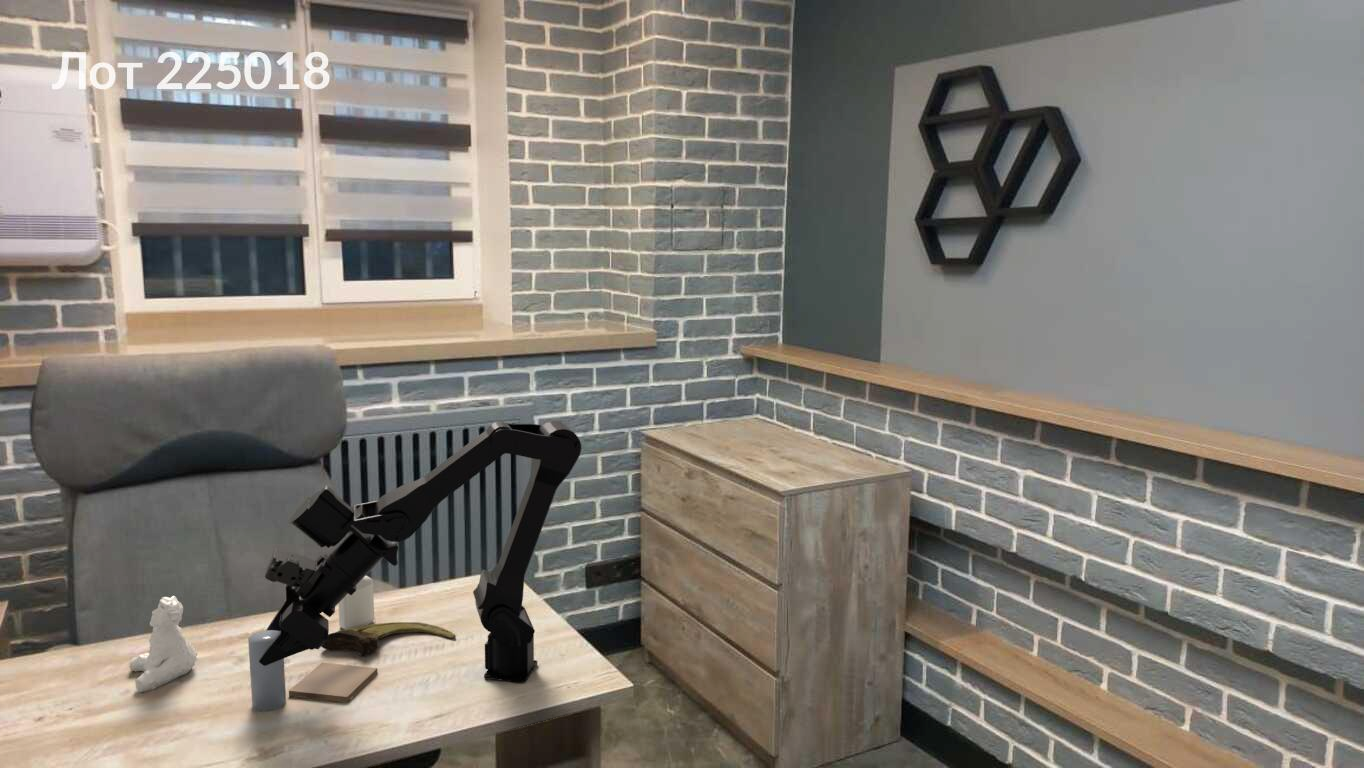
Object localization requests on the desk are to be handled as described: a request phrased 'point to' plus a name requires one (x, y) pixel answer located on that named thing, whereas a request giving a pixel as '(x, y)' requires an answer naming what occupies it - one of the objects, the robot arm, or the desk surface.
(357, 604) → the eye dropper bottle
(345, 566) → the robot arm
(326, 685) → the coaster
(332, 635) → the claw
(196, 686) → the desk surface
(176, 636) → the white creature statuette
